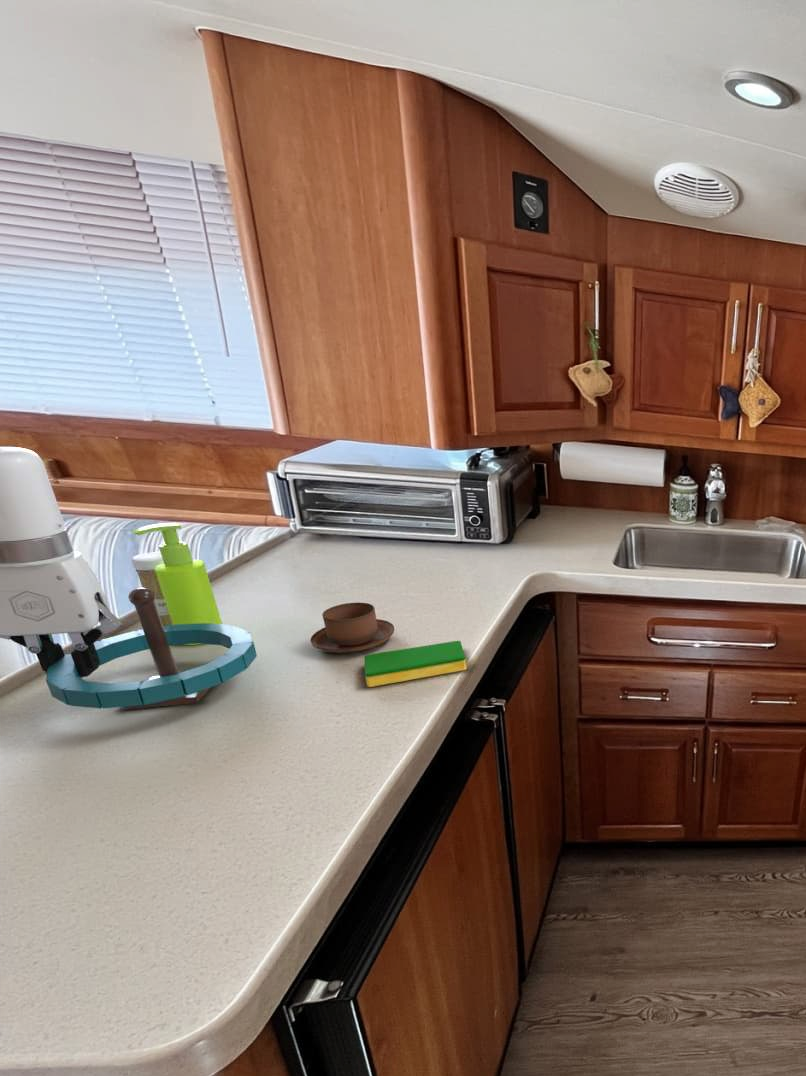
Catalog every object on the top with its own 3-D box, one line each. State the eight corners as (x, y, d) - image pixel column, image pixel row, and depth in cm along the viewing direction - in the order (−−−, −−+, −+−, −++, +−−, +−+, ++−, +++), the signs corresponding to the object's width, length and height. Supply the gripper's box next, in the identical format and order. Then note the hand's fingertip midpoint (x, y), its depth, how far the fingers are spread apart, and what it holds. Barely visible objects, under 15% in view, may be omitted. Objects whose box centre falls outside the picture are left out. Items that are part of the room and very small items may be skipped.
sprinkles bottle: (176, 634, 108) (152, 560, 103) (148, 633, 108) (122, 558, 102) (199, 623, 112) (176, 551, 107) (172, 622, 112) (148, 550, 107)
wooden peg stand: (124, 710, 88) (82, 601, 82) (153, 682, 95) (116, 579, 88) (197, 703, 91) (162, 597, 84) (220, 675, 98) (189, 576, 91)
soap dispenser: (165, 639, 106) (126, 524, 99) (218, 626, 112) (185, 517, 104) (176, 650, 103) (137, 533, 96) (230, 637, 109) (197, 525, 101)
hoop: (11, 716, 78) (3, 699, 77) (106, 642, 96) (101, 628, 95) (223, 698, 86) (219, 683, 85) (275, 632, 104) (272, 619, 103)
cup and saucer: (297, 647, 107) (288, 614, 105) (368, 622, 118) (361, 592, 115) (341, 666, 103) (333, 632, 101) (411, 639, 113) (405, 607, 111)
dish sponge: (367, 667, 103) (364, 654, 102) (461, 652, 110) (460, 639, 109) (367, 688, 98) (364, 674, 97) (467, 670, 105) (465, 657, 104)
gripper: (-89, 558, 74) (-28, 693, 81) (94, 555, 80) (137, 681, 87) (-40, 538, 81) (12, 665, 88) (126, 537, 87) (163, 656, 94)
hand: (74, 672), depth 87 cm, fingers closed on hoop, 2 cm apart
